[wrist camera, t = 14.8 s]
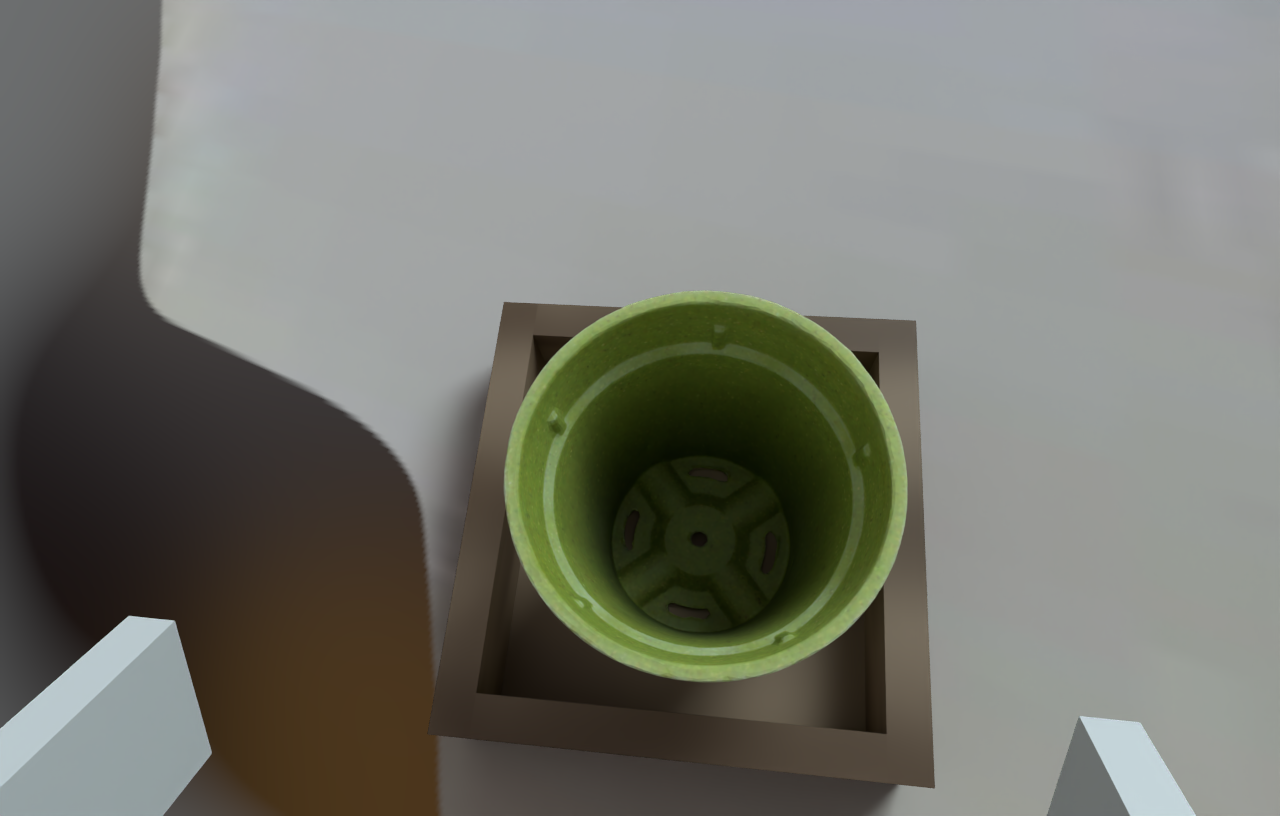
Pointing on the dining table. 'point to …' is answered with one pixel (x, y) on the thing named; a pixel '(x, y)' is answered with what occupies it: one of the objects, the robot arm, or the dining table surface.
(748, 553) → the plant pot
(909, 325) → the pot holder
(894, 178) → the dining table surface
